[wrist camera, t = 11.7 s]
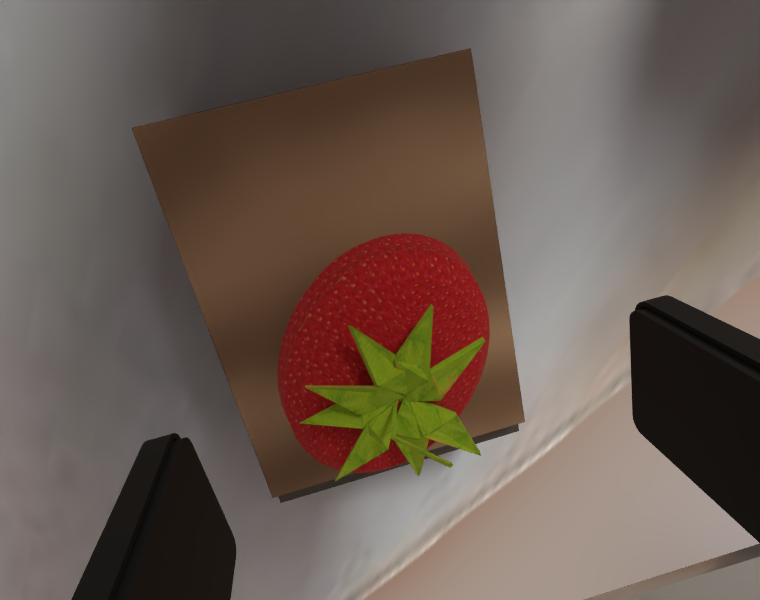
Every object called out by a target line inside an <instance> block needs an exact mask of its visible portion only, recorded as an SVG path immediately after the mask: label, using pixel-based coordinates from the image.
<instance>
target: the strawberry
mask: <svg viewBox="0 0 760 600" xmlns="http://www.w3.org/2000/svg"><path fill="white" fill-rule="evenodd" d="M489 339H490V327H489V314H488V310H487V306H486V302H485V298H484V296H483V294H482V292H481V290H480V288H479V286H478V284H477V282H476V280H475V278H474V276H473V274H472V272H471V271H470V269H469V267H468V265H467V263H466V262H465V261H464V260H463V259H462V258H461V257H460V255H459V254H458V253H457V252H456V251H455V250H454V249H452V248H451V247H449V246H448V245H446V244H444V243H443V242H441V241H440V240H438V239H435V238H431V237H428V236H425V235H422V234H408V233H397V234H392V235H387V236H382V237H377V238H375V239H372V240H369V241H367V242H364V243H362V244H360V245H357V246H355V247H353V248H350V249H349V250H347V251H346V252H344V253H343V254H341V255H340V256H338V257H337V258H335V259H334V260H333V261H332V262H331V263H330V264H329V265H328V266H327V267H326V268H325V269H324V270H322V271H321V272H320V274H319V275H318V276H317V278H316V279H315V280H314V281H313V283H312V284H311V285H310V287H309V288H308V289H307V291H306V292H305V293H304V294H303V296H302V297H301V299H300V301H299V302H298V304H297V306H296V308H295V310H294V312H293V313H292V315H291V317H290V319H289V322H288V324H287V327H286V330H285V333H284V336H283V339H282V342H281V347H280V353H279V358H278V364H277V375H278V391H279V395H280V400H281V405H282V408H283V410H284V412H285V415H286V417H287V419H288V422H289V424H290V426H291V428H292V430H293V432H294V435H295V437H296V439H297V441H298V442H299V443H300V444H301V445H302V447H303V448H304V449H305V450H306V452H307V453H308V454H309V455H311V456H312V457H313V458H315V459H316V460H317V461H319V462H320V463H321V464H323V465H326V466H328V467H330V468H333V469H335V470H338V471H340V472H339V474H338V475H337V477H336V479H335V481H337V480H338V479H340V478H342V477H343V476H345V475H347V474H348V473H368V472H376V471H380V470H384V469H388V468H392V467H394V466H397V465H399V464H401V463H403V462H406V461H409V463H410V464H411V466H412V467H413V469H414V470H415V472H416V473H417V475H418V476H419V475H420V473H421V469H422V465H423V461H424V457H425V456H427V457H429V458H431V459H433V460H435V461H437V462H440V463H442V464H444V465H446V466H448V467H452V466H453V464H452V463H451V462H449V461H447V460H445V459H443V458H440V457H438V456H436V455H434V454H432V453H430V452H428V451H426V449H428V448H429V447H430V446H431V445H432V444H434V443H435V442H436V441H437V442H440V443H443V444H446V445H449V446H452V447H456V448H459V449H462V450H465V451H468V452H471V453H474V454H477V455H480V451H479V449H478V448H477V446H476V444H475V443H474V441H473V440H472V438H471V436H470V435H469V433H468V432H467V430H466V428H465V427H464V425H463V424H462V422H461V420H460V419H459V416H460V415H461V413H462V412H463V410H464V409H465V407H466V406H467V404H468V403H469V401H470V400H471V398H472V396H473V394H474V392H475V389H476V387H477V385H478V383H479V381H480V379H481V376H482V373H483V369H484V366H485V363H486V359H487V354H488V347H489ZM480 456H481V455H480Z"/></svg>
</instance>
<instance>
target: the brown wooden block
mask: <svg viewBox="0 0 760 600" xmlns="http://www.w3.org/2000/svg"><path fill="white" fill-rule="evenodd" d="M132 131H133V133H134V136H135V138H136V141H137V144H138V146H139V149H140V152H141V154H142V157H143V159H144V162H145V165H146V167H147V170H148V172H149V175H150V178H151V180H152V183H153V186H154V188H155V191H156V193H157V196H158V199H159V201H160V204H161V207H162V209H163V212H164V214H165V217H166V220H167V222H168V225H169V228H170V230H171V233H172V235H173V238H174V241H175V243H176V246H177V248H178V251H179V254H180V256H181V259H182V262H183V264H184V267H185V269H186V272H187V275H188V277H189V280H190V283H191V285H192V288H193V290H194V293H195V296H196V298H197V301H198V303H199V306H200V309H201V311H202V314H203V317H204V319H205V322H206V324H207V327H208V330H209V332H210V335H211V338H212V340H213V343H214V345H215V348H216V351H217V353H218V356H219V359H220V361H221V364H222V366H223V369H224V372H225V374H226V377H227V379H228V382H229V385H230V387H231V390H232V393H233V395H234V398H235V400H236V403H237V406H238V408H239V411H240V414H241V416H242V419H243V421H244V424H245V427H246V429H247V432H248V435H249V437H250V440H251V442H252V445H253V448H254V450H255V453H256V455H257V458H258V461H259V463H260V466H261V469H262V471H263V474H264V476H265V479H266V482H267V484H268V487H269V490H270V492H271V495H272V497H277V496H279V499H280V502H281V503H282V502H285V501H289V500H292V499H295V498H299V497H302V496H305V495H309V494H312V493H315V492H318V491H322V490H325V489H328V488H332V487H335V486H338V485H342V484H345V483H348V482H352V481H355V480H358V479H361V478H365V477H368V476H371V475H375V474H378V473H381V472H385V471H388V470H391V469H394V468H398V467H401V466H404V465H408V464H410V463H409V461H406V462H403V463H401V464H399V465H397V466H394V467H392V468H388V469H384V470H380V471H376V472H368V473H348V474H347V475H345V476H343V477H342V478H340V479H338V480H337V481H335V479H336V477H337V475H338V474H339V472H340V471H338V470H335V469H333V468H330V467H328V466H326V465H323V464H321V463H320V462H319V461H317V460H316V459H315V458H313V457H312V456H311V455H309V454H308V453H307V452H306V450H305V449H304V448H303V447H302V445H301V444H300V443H299V442H298V441H297V439H296V437H295V435H294V432H293V430H292V428H291V426H290V424H289V422H288V419H287V417H286V415H285V412H284V410H283V408H282V405H281V400H280V395H279V391H278V375H277V364H278V358H279V353H280V347H281V342H282V339H283V336H284V333H285V330H286V327H287V324H288V322H289V319H290V317H291V315H292V313H293V312H294V310H295V308H296V306H297V304H298V302H299V301H300V299H301V297H302V296H303V294H304V293H305V292H306V291H307V289H308V288H309V287H310V285H311V284H312V283H313V281H314V280H315V279H316V278H317V276H318V275H319V274H320V272H321V271H322V270H324V269H325V268H326V267H327V266H328V265H329V264H330V263H331V262H332V261H333V260H334V259H335V258H337V257H338V256H340V255H341V254H343V253H344V252H346V251H347V250H349V249H350V248H353V247H355V246H357V245H360V244H362V243H364V242H367V241H369V240H372V239H375V238H377V237H382V236H387V235H392V234H397V233H408V234H422V235H425V236H428V237H431V238H435V239H438V240H440V241H441V242H443V243H444V244H446V245H448V246H449V247H451V248H452V249H454V250H455V251H456V252H457V253H458V254H459V255H460V257H461V258H462V259H463V260H464V261H465V262H466V263H467V265H468V267H469V269H470V271H471V272H472V274H473V276H474V278H475V280H476V282H477V284H478V286H479V288H480V290H481V292H482V294H483V296H484V298H485V302H486V306H487V310H488V314H489V327H490V339H489V347H488V354H487V359H486V363H485V366H484V369H483V373H482V376H481V379H480V381H479V383H478V385H477V387H476V389H475V392H474V394H473V396H472V398H471V400H470V401H469V403H468V404H467V406H466V407H465V409H464V410H463V412H462V413H461V415H460V416H459V419H460V420H461V422H462V424H463V425H464V427H465V428H466V430H467V432H468V433H469V435H470V436H471V438H472V440H473V441H474V443H475V444H477V443H480V442H484V441H487V440H490V439H494V438H497V437H500V436H504V435H507V434H510V433H513V432H517V431H519V428H518V424H519V423H522V422H525V419H524V412H523V405H522V398H521V391H520V384H519V378H518V371H517V364H516V357H515V350H514V343H513V336H512V329H511V322H510V315H509V309H508V302H507V295H506V288H505V281H504V274H503V267H502V260H501V253H500V246H499V240H498V233H497V226H496V219H495V212H494V205H493V198H492V191H491V184H490V177H489V171H488V164H487V157H486V150H485V143H484V136H483V129H482V122H481V115H480V108H479V101H478V95H477V88H476V81H475V74H474V67H473V60H472V53H471V48H470V49H466V50H461V51H457V52H453V53H449V54H444V55H440V56H436V57H432V58H427V59H423V60H419V61H415V62H410V63H406V64H402V65H398V66H393V67H389V68H385V69H381V70H376V71H372V72H368V73H364V74H359V75H355V76H351V77H347V78H342V79H338V80H334V81H330V82H325V83H321V84H317V85H313V86H308V87H304V88H300V89H296V90H291V91H287V92H283V93H279V94H274V95H270V96H266V97H262V98H257V99H253V100H249V101H245V102H240V103H236V104H232V105H228V106H223V107H219V108H215V109H211V110H206V111H202V112H198V113H194V114H190V115H185V116H181V117H177V118H173V119H168V120H164V121H160V122H156V123H151V124H147V125H143V126H139V127H134V128H132ZM457 449H459V448H456V447H452V446H449V445H446V444H443V443H440V442H437V441H436V442H435V443H434V444H432V445H431V446H430V447H429V448H428V449H426V451H428V452H430V453H432V454H434V455H436V456H437V455H441V454H444V453H447V452H451V451H454V450H457ZM428 458H429V457H427V456H425V457H424V459H428Z"/></svg>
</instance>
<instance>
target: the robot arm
mask: <svg viewBox="0 0 760 600" xmlns="http://www.w3.org/2000/svg"><path fill="white" fill-rule="evenodd" d="M630 350H631V380H632V409H633V420H634V423H635V425H636V427H637V429H638V431H639V432H640V433H641V434H642V435H643V436H644V437H645V438H646V439H647V440H648V441H649V442H651V443H652V444H653V445H654V446H655V447H656V448H657V449H658V450H659V451H660V452H661V453H663V454H664V455H665V456H666V457H667V458H668V459H669V460H670V461H671V462H672V463H673V464H675V465H676V466H677V467H678V468H679V469H680V470H681V471H682V472H683V473H684V474H685V475H686V476H688V477H689V478H690V479H691V480H692V481H693V482H694V483H695V484H696V485H697V486H699V487H700V488H701V489H702V490H703V491H704V492H705V493H706V494H707V495H708V496H709V497H710V498H711V499H713V500H714V501H715V502H716V503H717V504H718V505H719V506H720V507H721V508H722V509H723V510H725V511H726V512H727V513H728V514H729V515H730V516H731V517H732V518H733V519H734V520H735V521H737V522H738V523H739V524H740V525H741V526H742V527H743V528H744V529H745V530H746V531H747V532H748V533H750V534H751V535H752V536H753V537H754V538H755V539H756V540H757V541H758V542H759V543H760V339H758V338H756V337H754V336H752V335H750V334H748V333H746V332H744V331H742V330H740V329H737V328H735V327H733V326H731V325H729V324H727V323H725V322H723V321H721V320H719V319H717V318H714V317H713V316H711V315H708V314H706V313H704V312H702V311H700V310H698V309H696V308H694V307H692V306H690V305H688V304H686V303H684V302H682V301H679V300H677V299H675V298H673V297H671V296H668V295H666V296H661V297H658V298H654V299H650V300H647V301H643V302H640V303H639V304H637V306H636V308H635V311H633V312H632V313H631V315H630ZM235 560H236V544H235V539H234V536H233V534H232V531H231V529H230V527H229V525H228V523H227V520H226V518H225V516H224V514H223V511H222V509H221V507H220V505H219V502H218V500H217V498H216V496H215V494H214V491H213V489H212V487H211V485H210V482H209V480H208V478H207V476H206V473H205V471H204V469H203V467H202V465H201V462H200V460H199V458H198V456H197V453H196V451H195V449H194V447H193V444H192V443H191V441H190V439H189V438H187V437H186V438H182V439H181V438H180V437H179V436H178V434H175V433H173V434H169V435H166V436H162V437H159V438H155V439H152V440H148V441H146V442H144V443H143V445H142V447H141V449H140V451H139V453H138V456H137V458H136V460H135V462H134V464H133V467H132V469H131V471H130V473H129V475H128V477H127V480H126V482H125V484H124V486H123V488H122V491H121V493H120V495H119V497H118V499H117V502H116V504H115V506H114V508H113V510H112V512H111V515H110V517H109V519H108V521H107V523H106V526H105V528H104V530H103V532H102V534H101V536H100V538H99V541H98V543H97V545H96V547H95V549H94V551H93V554H92V556H91V558H90V560H89V562H88V565H87V567H86V569H85V571H84V573H83V576H82V578H81V580H80V582H79V584H78V586H77V589H76V591H75V593H74V595H73V597H72V600H230V598H231V591H232V583H233V575H234V568H235ZM585 600H760V544H757V545H754V546H751V547H748V548H745V549H741V550H738V551H735V552H732V553H729V554H726V555H723V556H720V557H717V558H713V559H710V560H707V561H704V562H700V563H697V564H694V565H691V566H688V567H685V568H681V569H678V570H675V571H672V572H669V573H666V574H663V575H659V576H656V577H653V578H650V579H647V580H644V581H641V582H638V583H634V584H631V585H628V586H625V587H622V588H619V589H616V590H613V591H610V592H606V593H603V594H600V595H597V596H594V597H591V598H588V599H585Z"/></svg>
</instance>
